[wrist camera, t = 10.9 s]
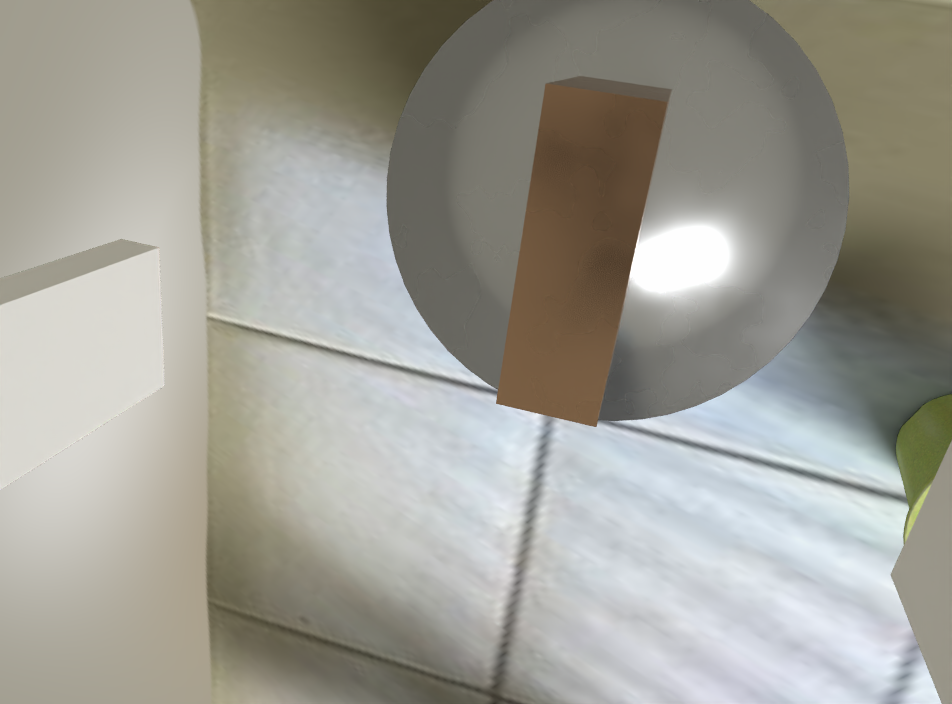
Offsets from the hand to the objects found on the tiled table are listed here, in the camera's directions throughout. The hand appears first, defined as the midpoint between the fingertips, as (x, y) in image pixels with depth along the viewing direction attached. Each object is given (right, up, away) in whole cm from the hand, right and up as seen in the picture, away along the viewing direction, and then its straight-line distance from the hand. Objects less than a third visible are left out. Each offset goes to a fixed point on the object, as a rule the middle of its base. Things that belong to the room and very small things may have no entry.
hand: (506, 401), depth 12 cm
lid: (+4, +6, +15) cm, 17 cm away
